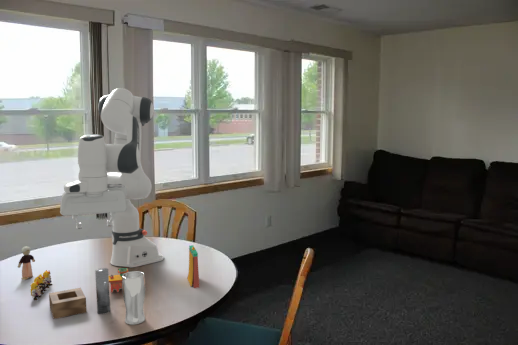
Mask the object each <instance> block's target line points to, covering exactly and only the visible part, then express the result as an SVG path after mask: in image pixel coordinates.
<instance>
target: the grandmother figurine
mask: <svg viewBox="0 0 518 345" xmlns="http://www.w3.org/2000/svg"><path fill="white" fill-rule="evenodd" d="M30 253H31V247H30V246H23V247H22V248H21V254H23V255H22V256H21V257H20V260H19V261H18V264H17V268H18V269H20V268H21V280H22V281H26V280H28V279H31V278H32V279H33V278H34V276H33V269H32V268H33V267H32V264H31V263H35V262H36V260H35V257H34V255H32V254H30ZM21 266H22V267H21Z"/></svg>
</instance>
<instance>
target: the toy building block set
mask: <svg viewBox="0 0 518 345" xmlns="http://www.w3.org/2000/svg"><path fill="white" fill-rule="evenodd" d="M188 247H189V248H188V249H189V250H188V273H187V278H186V279H187V281H188V284H189V285H190V287H192V286H193V288H194V289H197V288H200V278H199V276H200V274H199V260H198V259H199V253H198V251H197V249H196V247H195V246H194V245H189V246H188ZM127 272H129V267H123V268H118V269H117V273H118V274H115V275H113V274H111V275H109V285H110V293H113V292H114V290H115V291H116V293H119V292H120V290H121V289H122V275H123V274H124V273H127Z"/></svg>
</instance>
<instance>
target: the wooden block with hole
mask: <svg viewBox="0 0 518 345" xmlns="http://www.w3.org/2000/svg"><path fill="white" fill-rule="evenodd" d="M48 298H49V302H48V303H49V309H50V312H51V315H52V319H53V320H54V319H55V320H56V319H60V318H64V317H70V316H75V315H80V314H84V313H85V314H86V313H88V312H87V311H88V310H87V297H86V295H85V293H84V291H83V289H82V288H81V287H77V288H76V287H75V288H71V289H67V290H66V289H65V290H59V291H55V292H49V293H48Z"/></svg>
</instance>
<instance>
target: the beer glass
mask: <svg viewBox="0 0 518 345" xmlns="http://www.w3.org/2000/svg"><path fill="white" fill-rule="evenodd" d="M121 289H122V296H123V297H122V298H123V302H124V307H125V318H124V322H125V324H127V325H131V326H134V325H139V324H142V323H144V322H145V319H146V317H145V313H144V304H145V297H146V280H145V273H144V272H142V271H140V270H132V271H128V272H127V273H124V274H123V275H122V288H121Z"/></svg>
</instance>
